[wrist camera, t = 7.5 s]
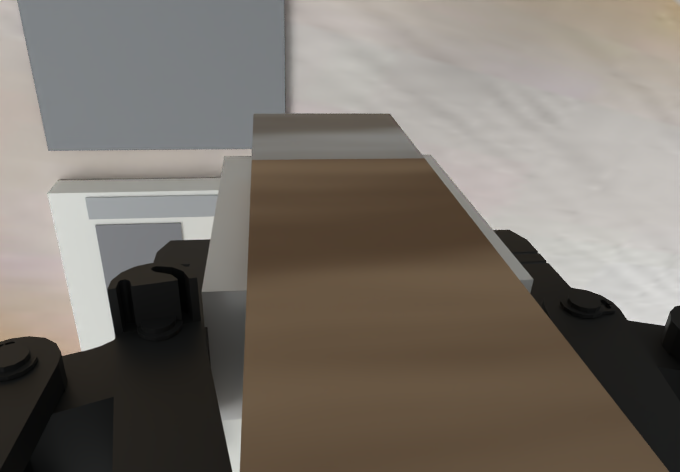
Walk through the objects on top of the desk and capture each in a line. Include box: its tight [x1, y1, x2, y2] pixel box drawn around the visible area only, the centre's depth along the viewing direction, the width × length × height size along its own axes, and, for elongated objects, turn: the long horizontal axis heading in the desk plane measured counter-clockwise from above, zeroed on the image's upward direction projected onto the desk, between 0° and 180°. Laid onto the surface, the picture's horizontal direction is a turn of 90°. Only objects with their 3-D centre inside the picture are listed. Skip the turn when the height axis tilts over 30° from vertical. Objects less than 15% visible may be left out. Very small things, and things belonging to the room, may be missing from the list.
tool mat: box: [17, 0, 285, 151], centre depth 23 cm, size 9×10×1 cm
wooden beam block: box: [240, 114, 669, 472], centre depth 11 cm, size 4×4×14 cm
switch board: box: [47, 178, 242, 472], centre depth 29 cm, size 18×14×2 cm
